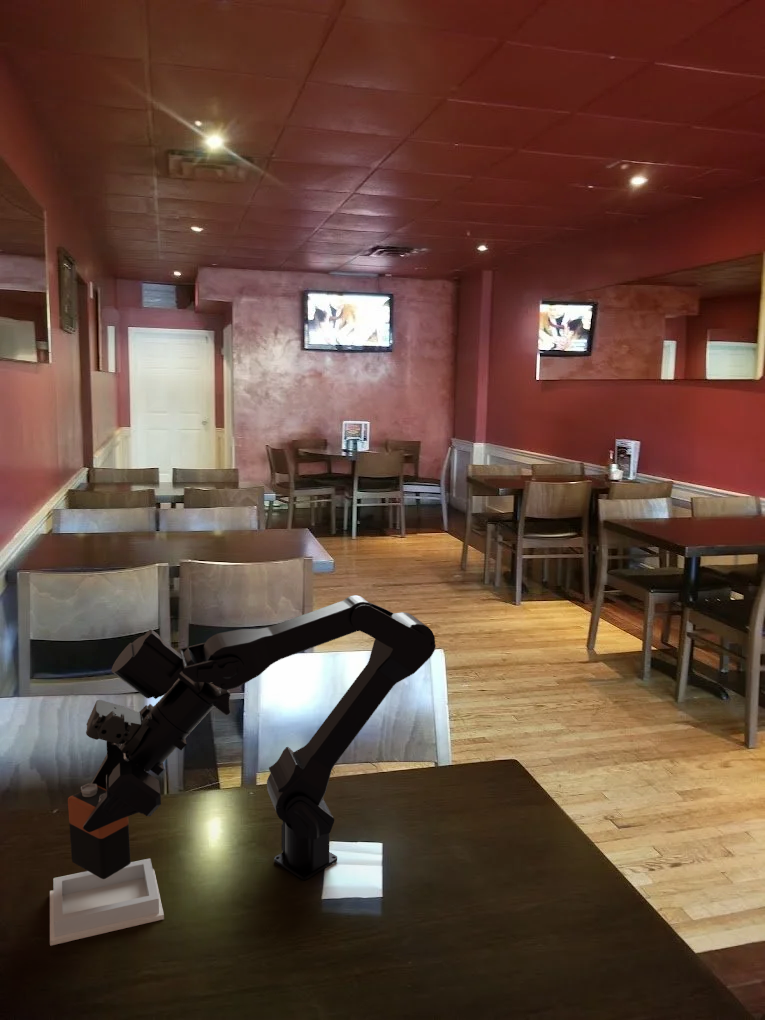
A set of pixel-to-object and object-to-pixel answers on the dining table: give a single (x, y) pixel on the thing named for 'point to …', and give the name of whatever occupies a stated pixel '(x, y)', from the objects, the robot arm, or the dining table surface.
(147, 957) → the dining table surface
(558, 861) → the dining table surface
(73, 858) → the battery
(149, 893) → the tray
